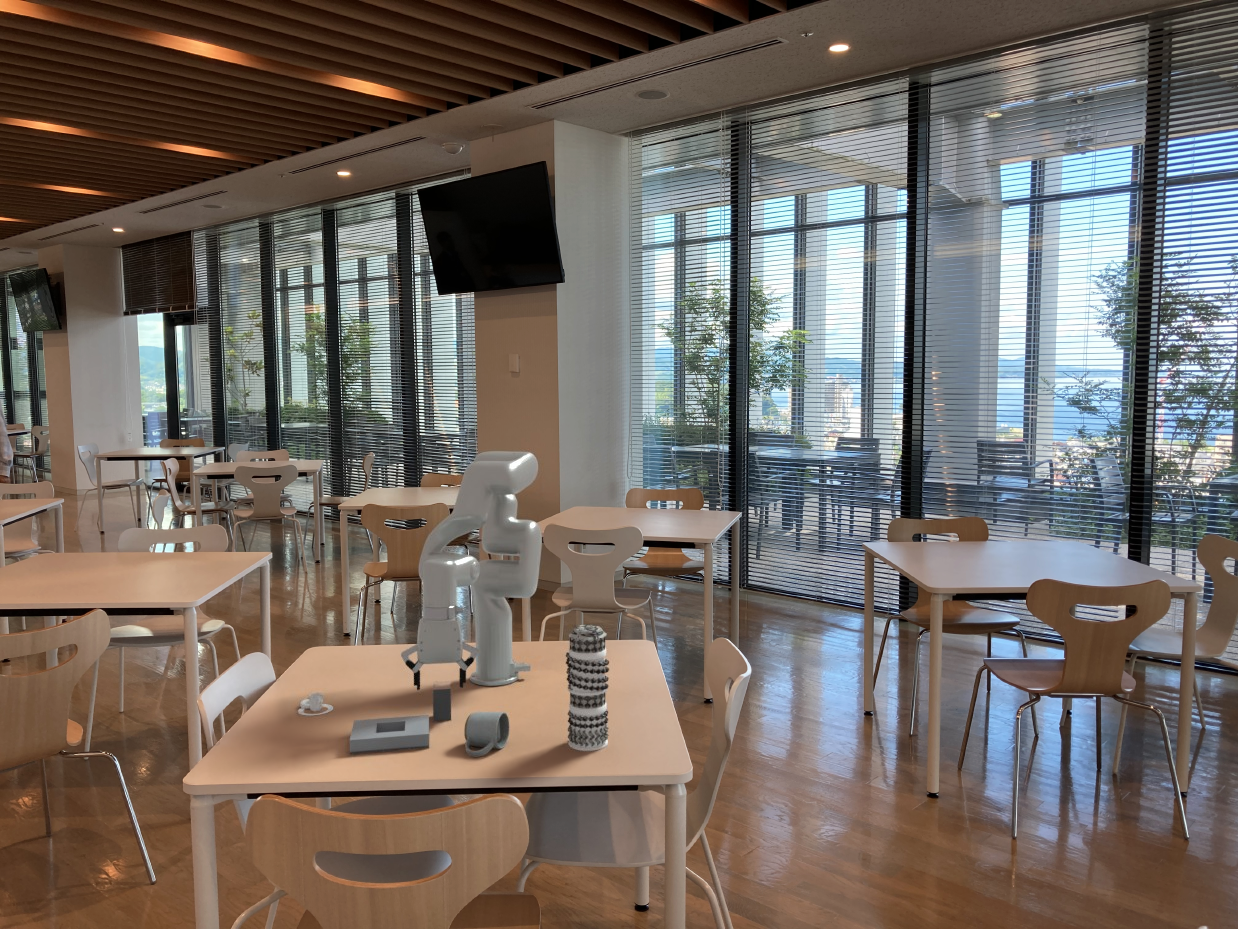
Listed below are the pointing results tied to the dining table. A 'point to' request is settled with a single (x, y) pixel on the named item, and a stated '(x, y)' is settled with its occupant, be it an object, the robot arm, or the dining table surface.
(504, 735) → the ceramic mug
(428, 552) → the robot arm
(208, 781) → the dining table surface
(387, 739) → the outlet box
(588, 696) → the decorative candle
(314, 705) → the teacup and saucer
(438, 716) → the charger
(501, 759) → the dining table surface
